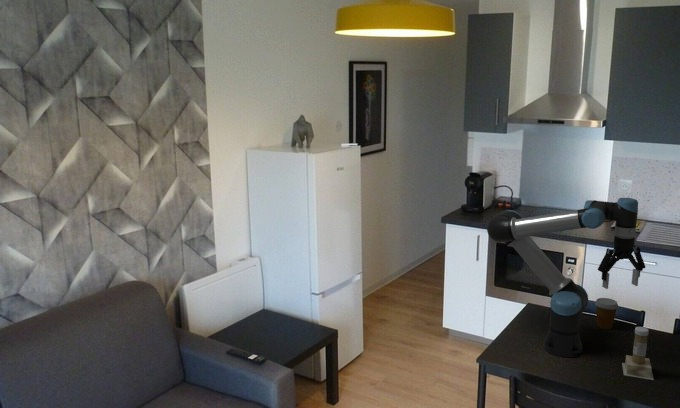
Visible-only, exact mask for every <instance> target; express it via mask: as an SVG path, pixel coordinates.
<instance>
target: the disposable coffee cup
mask: <svg viewBox="0 0 680 408" xmlns="http://www.w3.org/2000/svg"><path fill="white" fill-rule="evenodd" d="M594 304H595V310H596V312H595V313H596V326H597V327H598V328H601V329H602V330H611V329H613V327H614V322H615V317H616V314H617V310H618V307H619V304H618V301H617V300H614V299H612V298H607V297H599V298H597V299H596V300H595V302H594Z"/></svg>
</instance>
